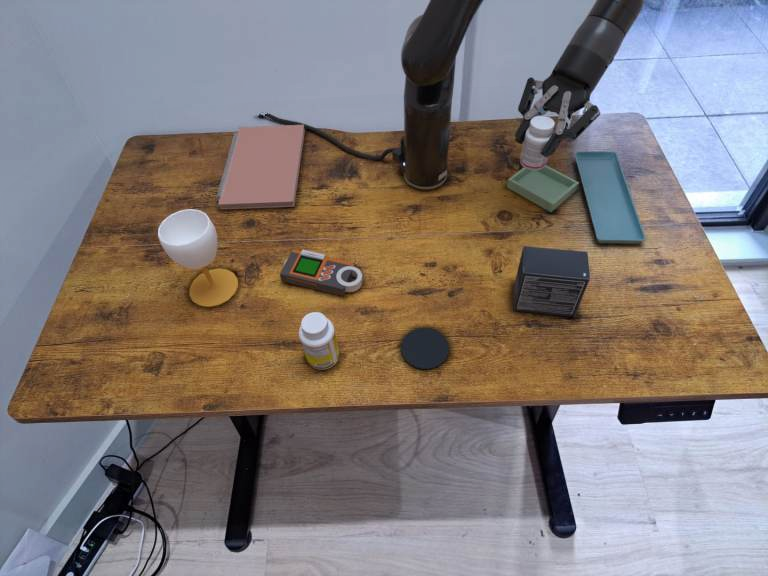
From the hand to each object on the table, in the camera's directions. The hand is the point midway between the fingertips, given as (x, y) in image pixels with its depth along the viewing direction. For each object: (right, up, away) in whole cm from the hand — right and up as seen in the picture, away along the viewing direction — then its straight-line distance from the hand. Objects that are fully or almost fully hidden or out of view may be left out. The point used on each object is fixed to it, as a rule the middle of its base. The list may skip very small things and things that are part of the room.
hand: (531, 148), depth 88 cm
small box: (+3, -26, +2) cm, 27 cm away
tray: (+8, -3, +20) cm, 22 cm away
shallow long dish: (+20, -6, +17) cm, 27 cm away
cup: (-57, -24, +7) cm, 63 cm away
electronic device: (-37, -22, +7) cm, 44 cm away
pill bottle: (+1, -2, +4) cm, 5 cm away
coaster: (-19, -34, -3) cm, 39 cm away
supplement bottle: (-36, -36, -3) cm, 51 cm away
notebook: (-53, +3, +28) cm, 60 cm away
